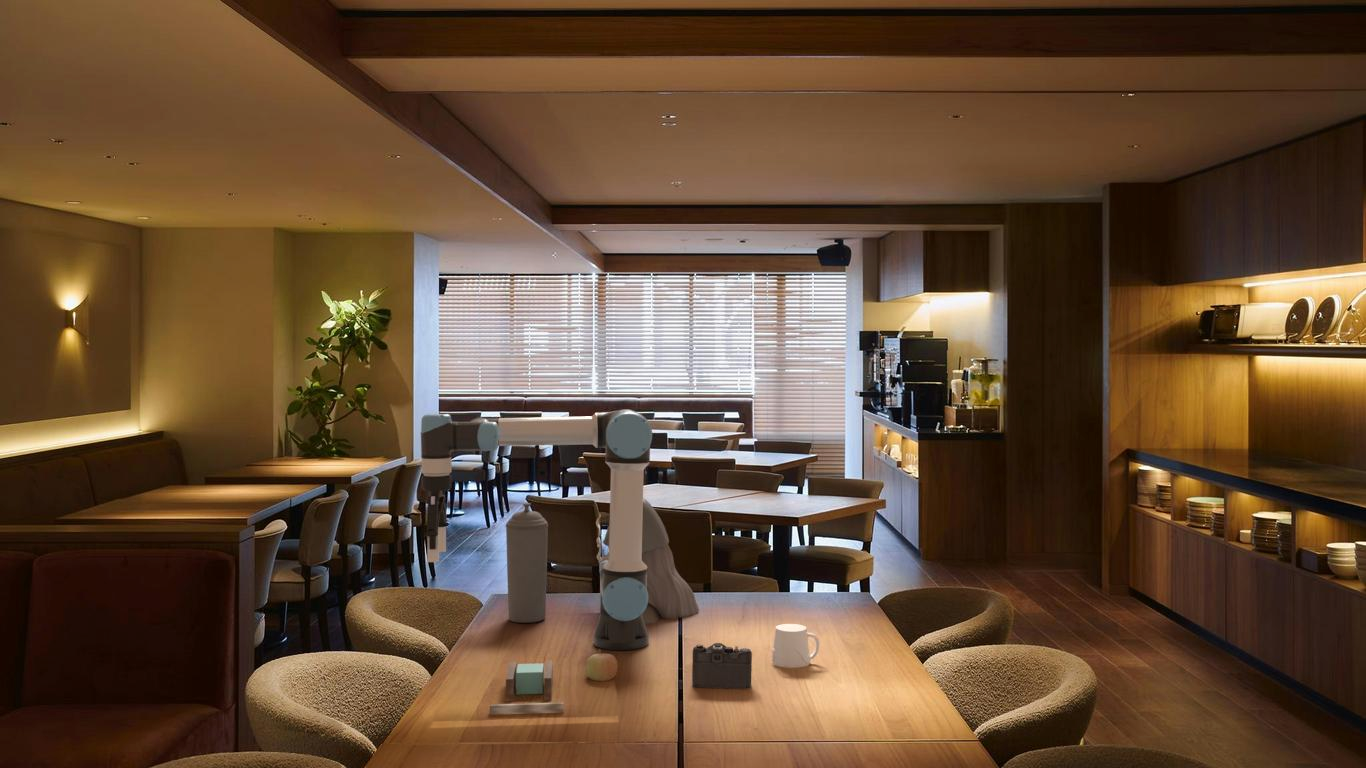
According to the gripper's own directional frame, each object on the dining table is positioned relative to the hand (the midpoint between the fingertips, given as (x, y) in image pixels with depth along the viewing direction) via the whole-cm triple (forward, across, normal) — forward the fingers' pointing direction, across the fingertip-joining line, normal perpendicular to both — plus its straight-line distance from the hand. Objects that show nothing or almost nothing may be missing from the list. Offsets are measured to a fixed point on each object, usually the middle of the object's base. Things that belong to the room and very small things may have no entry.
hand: (437, 556), depth 276 cm
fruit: (+28, +19, +42) cm, 54 cm away
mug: (+28, +8, +92) cm, 96 cm away
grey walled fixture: (+27, +33, +25) cm, 49 cm away
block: (+26, +28, +25) cm, 46 cm away
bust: (+28, -53, +56) cm, 82 cm away
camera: (+28, +22, +71) cm, 79 cm away
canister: (+28, -43, +20) cm, 55 cm away
